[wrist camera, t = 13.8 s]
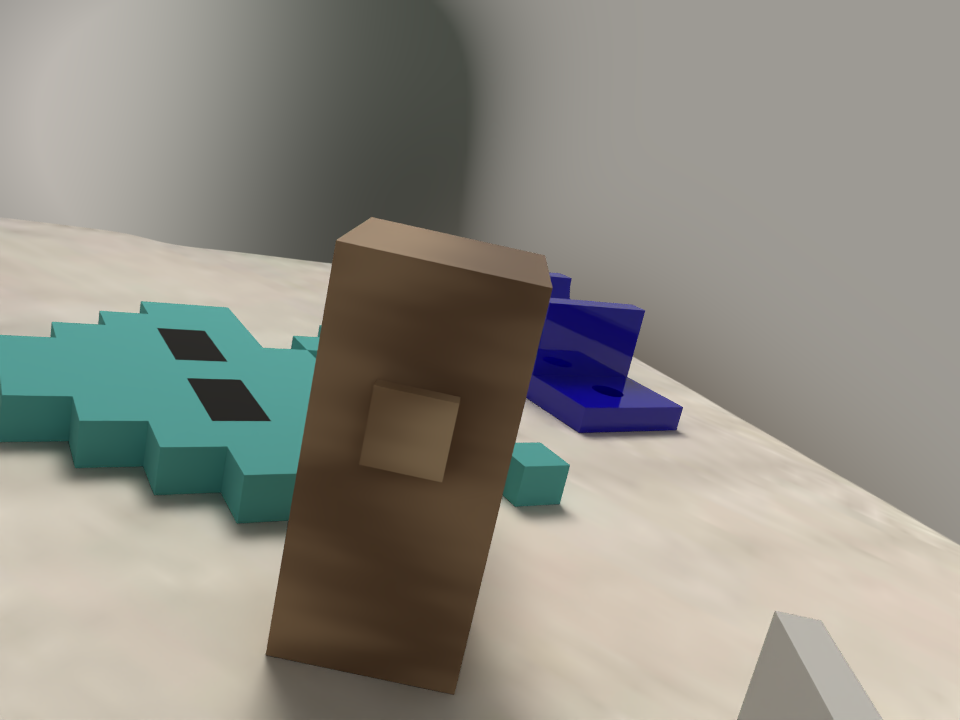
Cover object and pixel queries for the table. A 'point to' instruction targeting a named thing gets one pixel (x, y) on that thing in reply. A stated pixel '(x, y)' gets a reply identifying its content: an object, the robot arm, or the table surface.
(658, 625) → the table surface
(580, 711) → the table surface
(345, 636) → the mallet
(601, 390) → the mounting bracket
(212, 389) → the alien figure
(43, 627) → the table surface
